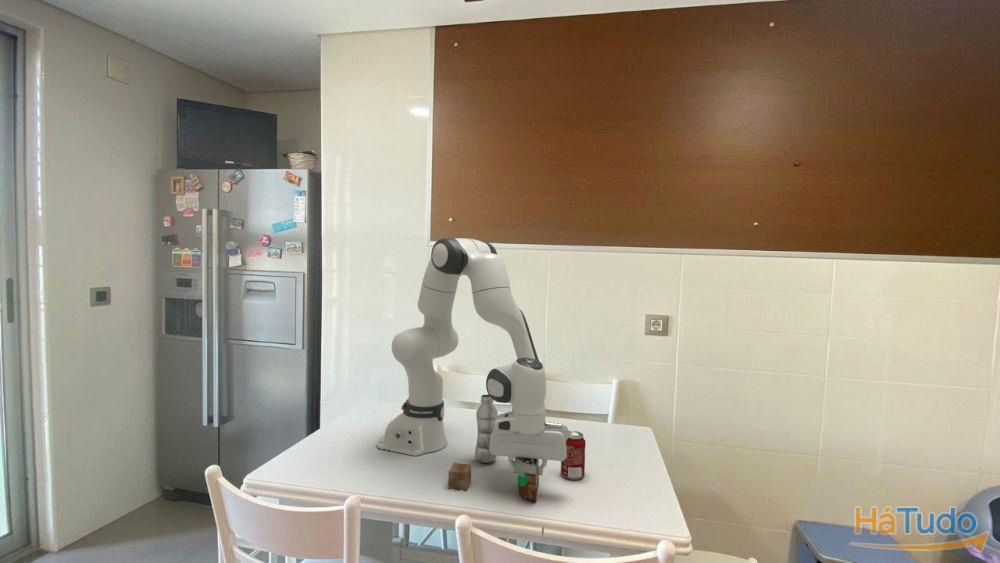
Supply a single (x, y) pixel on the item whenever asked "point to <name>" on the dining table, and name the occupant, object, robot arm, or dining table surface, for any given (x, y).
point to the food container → (527, 478)
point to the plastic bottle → (485, 429)
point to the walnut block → (459, 476)
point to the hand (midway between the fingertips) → (527, 473)
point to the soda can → (574, 456)
